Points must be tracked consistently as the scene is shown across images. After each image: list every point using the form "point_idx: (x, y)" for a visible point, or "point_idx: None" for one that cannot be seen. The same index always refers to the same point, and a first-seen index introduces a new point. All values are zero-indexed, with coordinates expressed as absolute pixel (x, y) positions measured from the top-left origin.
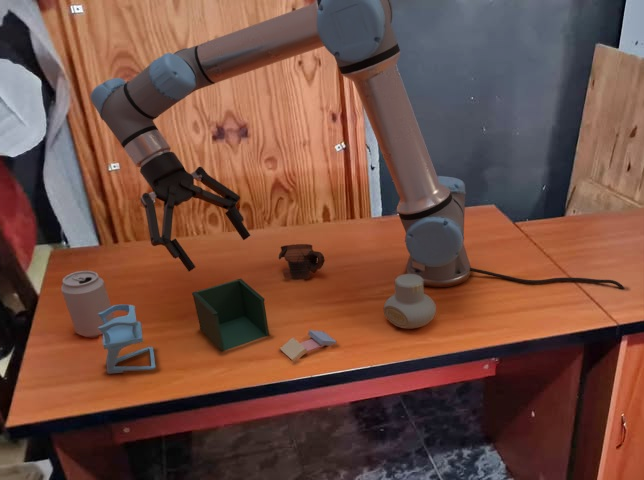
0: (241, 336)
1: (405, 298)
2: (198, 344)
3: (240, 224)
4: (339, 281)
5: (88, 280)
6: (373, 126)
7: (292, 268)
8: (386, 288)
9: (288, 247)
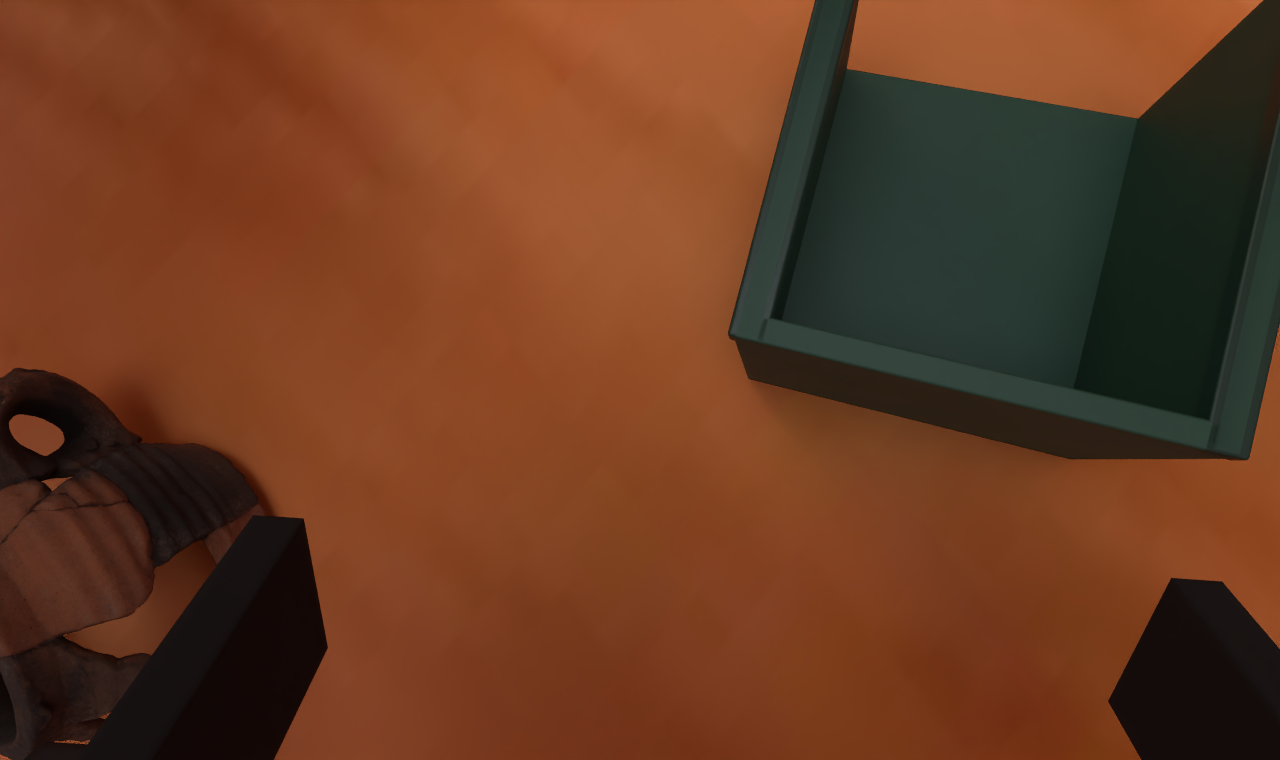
0: (954, 176)
1: None
2: None
3: (185, 672)
4: (120, 281)
5: None
6: None
7: (192, 516)
8: (48, 22)
9: (22, 634)
